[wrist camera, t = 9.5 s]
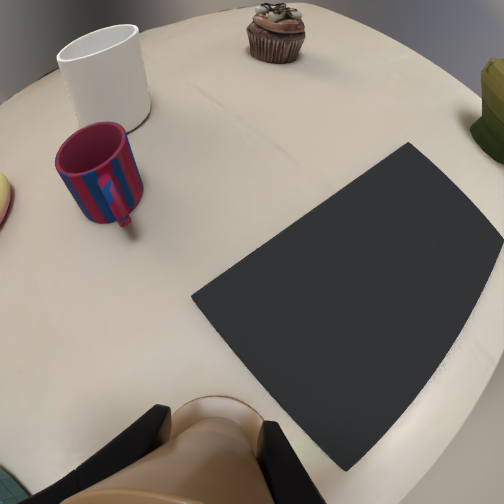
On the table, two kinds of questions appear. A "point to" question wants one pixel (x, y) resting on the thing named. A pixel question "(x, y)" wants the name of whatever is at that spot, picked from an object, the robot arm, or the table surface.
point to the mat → (358, 300)
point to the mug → (107, 77)
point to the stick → (194, 461)
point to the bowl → (10, 489)
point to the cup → (101, 172)
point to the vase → (491, 111)
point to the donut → (4, 195)
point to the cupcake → (276, 33)
